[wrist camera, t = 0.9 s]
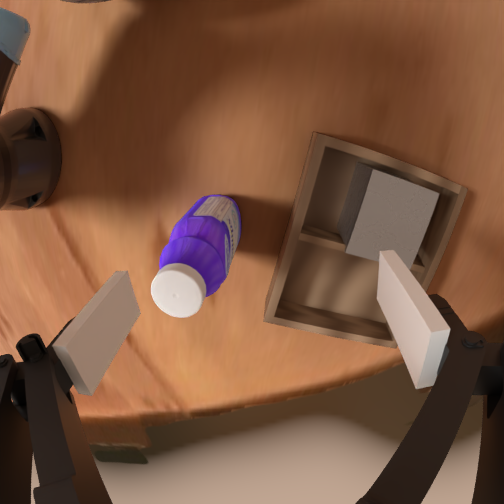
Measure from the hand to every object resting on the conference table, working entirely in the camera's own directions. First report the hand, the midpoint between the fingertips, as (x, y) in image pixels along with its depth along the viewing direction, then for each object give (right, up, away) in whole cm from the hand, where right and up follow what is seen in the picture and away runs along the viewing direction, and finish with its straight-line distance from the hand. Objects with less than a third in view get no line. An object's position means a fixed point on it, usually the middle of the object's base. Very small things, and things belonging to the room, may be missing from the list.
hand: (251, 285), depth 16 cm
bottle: (-4, +5, +23) cm, 24 cm away
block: (+14, +7, +19) cm, 25 cm away
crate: (+13, +3, +22) cm, 26 cm away
